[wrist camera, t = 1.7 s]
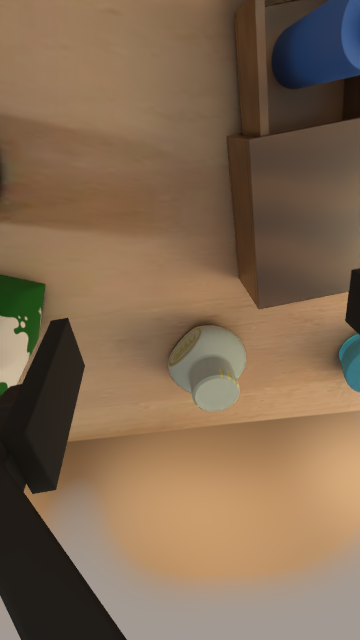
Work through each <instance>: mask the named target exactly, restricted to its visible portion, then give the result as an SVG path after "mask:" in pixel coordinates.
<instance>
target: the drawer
mask: <svg viewBox="0 0 360 640" xmlns="http://www.w3.org/2000/svg"><path fill="white" fill-rule="evenodd" d="M328 1H329V0H294V1H289V2H284V3H279V4H274V5H269V6H265V0H246V2H245V3H244V4H243V5H242V6H241V7H240V9H239V10H238V11H237V12H236V13H235V30H236V45H237V60H238V75H239V90H240V105H241V120H242V135H243V136H249V137H259V136H264V135H269V134H275V133H280V132H285V131H290V130H295V129H300V128H305V127H310V126H315V125H320V124H325V123H330V122H335V121H340V120H346V119H351V118H356V117H360V75H358V76H354V77H349V78H344V79H340V80H335V81H331V82H326V83H322V84H317V85H312V86H308V87H303V88H299V89H289V88H286V87H284V86H282V85H281V84H280V83H279V82H278V81H277V79H276V78H275V76H274V73H273V69H272V52H273V48H274V45H275V43H276V41H277V39H278V37H279V36H280V35H281V33H282V32H283V31H284V30H285V29H286V28H288V27H289V26H291V25H292V24H294V23H295V22H297V21H298V20H300V19H301V18H303V17H304V16H306V15H308V14H309V13H311V12H312V11H314V10H315V9H317V8H318V7H320V6H321V5H323V4H325V3H326V2H328Z"/></svg>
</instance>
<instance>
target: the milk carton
mask: <svg viewBox="0 0 360 640" xmlns="http://www.w3.org/2000/svg"><path fill="white" fill-rule="evenodd" d="M44 292H45V284H41V283H36V282H32V281H27V280H22V279H17V278H13V277H8V276H3V275H0V396H1V395H2V394H3V393H4V392H5V391H6V390H7V389H8V388H9V387H10V386H14V385H17V383H18V381H19V379H20V376H21V374H22V372H23V370H24V368H25V366H26V364H27V362H28V360H29V358H30V355H31V353H32V351H33V349H34V347H35V345H36V343H37V341H38V338H39V334H40V327H41V318H42V309H43V300H44Z"/></svg>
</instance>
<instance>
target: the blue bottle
mask: <svg viewBox="0 0 360 640" xmlns="http://www.w3.org/2000/svg"><path fill="white" fill-rule="evenodd" d="M272 69H273V73H274V76H275V78H276V79H277V81H278V82H279V83H280V84H281V85H282V86H284V87H286V88H289V89H299V88H303V87H308V86H312V85H317V84H322V83H326V82H331V81H335V80H340V79H344V78H349V77H354V76H358V75H360V0H329V1H328V2H326V3H325V4H323V5H321V6H320V7H318V8H317V9H315V10H314V11H312V12H311V13H309V14H308V15H306V16H304V17H303V18H301V19H300V20H298V21H297V22H295V23H294V24H292V25H291V26H289V27H288V28H286V29H285V30H284V31H283V32H282V33H281V35H280V36H279V37H278V39H277V41H276V43H275V45H274V48H273V52H272Z"/></svg>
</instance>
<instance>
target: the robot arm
mask: <svg viewBox="0 0 360 640" xmlns="http://www.w3.org/2000/svg"><path fill="white" fill-rule="evenodd" d="M345 321H346V322H347V323H348V324H349V325H350V326H351V327H352V328H353V329H354V330H355V331H356V332H357V333H358V334H359V335H360V268H359V269H353V270H351V278H350V287H349V295H348V303H347V311H346V319H345ZM84 367H85V365H84V362H83V359H82V356H81V353H80V351H79V348H78V345H77V342H76V339H75V336H74V334H73V331H72V328H71V325H70V322H69V319H68V318H64V319H58V320H53V321H51V322H50V324H49V327H48V329H47V331H46V333H45V335H44V337H43V340H42V342H41V344H40V346H39V348H38V351H37V353H36V355H35V357H34V359H33V362H32V364H31V366H30V368H29V370H28V372H27V375H26V377H25V379H24V381H23V383H22V384H20V385H14V386H10V387H9V388H8V389H7V390H6V391H5V392H4V393H3V394H2V395H1V396H0V596H1V598H2V600H3V602H4V604H5V606H6V609H7V611H8V613H9V615H10V617H11V619H12V621H13V623H14V626H15V628H16V630H17V632H18V634H19V636H20V638H21V640H127V639H126V638H125V637H124V635H123V634H122V632H121V631H120V630H119V628H118V627H117V625H116V624H115V622H114V621H113V619H112V618H111V617H110V615H109V614H108V612H107V611H106V609H105V608H104V606H103V605H102V604H101V602H100V601H99V600H98V598H97V596H96V595H95V594H94V592H93V591H92V589H91V588H90V587H89V585H88V584H87V582H86V581H85V579H84V578H83V576H82V575H81V574H80V572H79V571H78V569H77V568H76V566H75V565H74V564H73V562H72V561H71V559H70V558H69V556H68V555H67V554H66V552H65V551H64V549H63V548H62V546H61V545H60V544H59V542H58V541H57V539H56V538H55V536H54V535H53V534H52V532H51V531H50V529H49V528H48V526H47V525H46V524H45V522H44V521H43V519H42V518H41V516H40V515H39V514H38V512H37V511H36V509H35V508H34V506H33V505H32V504H31V502H30V501H29V499H28V498H27V496H26V495H25V494H24V488H25V485H26V484H27V485H28V487H29V488H30V490H31V492H32V494H35V493H40V492H47V491H52V490H56V487H57V483H58V478H59V474H60V470H61V466H62V462H63V457H64V453H65V449H66V444H67V440H68V436H69V432H70V427H71V423H72V419H73V414H74V410H75V406H76V402H77V397H78V393H79V389H80V384H81V380H82V376H83V372H84Z"/></svg>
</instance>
